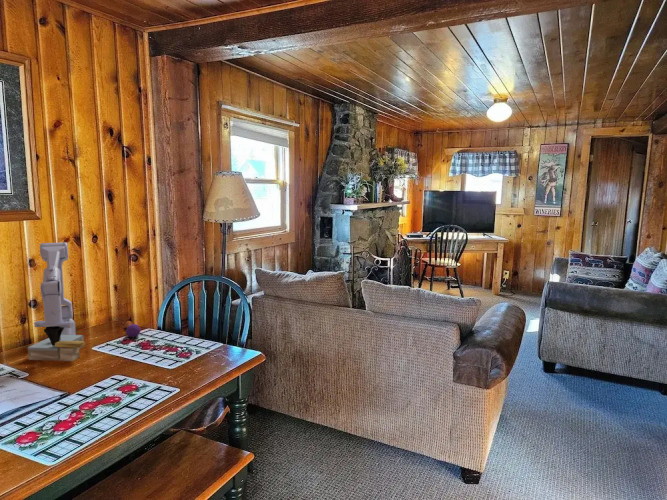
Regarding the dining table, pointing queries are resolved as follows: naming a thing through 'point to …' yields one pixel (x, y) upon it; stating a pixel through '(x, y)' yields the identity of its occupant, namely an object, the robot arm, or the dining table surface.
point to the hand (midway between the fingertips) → (55, 344)
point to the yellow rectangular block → (70, 344)
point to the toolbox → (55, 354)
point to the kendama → (132, 329)
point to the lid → (48, 346)
